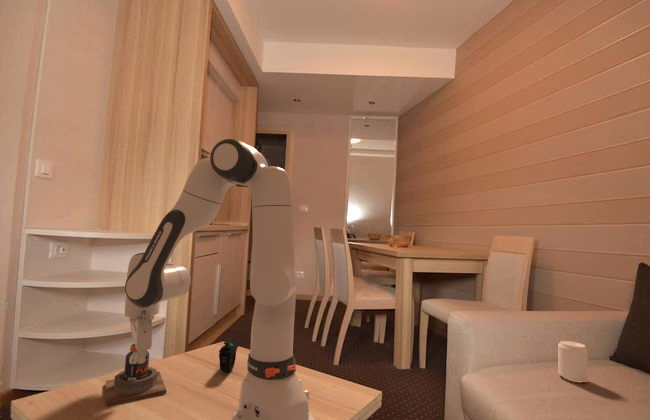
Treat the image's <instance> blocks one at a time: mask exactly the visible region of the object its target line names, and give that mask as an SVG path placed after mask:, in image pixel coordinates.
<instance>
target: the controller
mask: <svg viewBox="0 0 650 420" xmlns="http://www.w3.org/2000/svg"><path fill="white" fill-rule="evenodd" d="M223 344H224V345H223V346H222V347H221V348H220V349H219V350H218V353H219V354H218V358H219V369H220V371H221V372H223V373H229V372H231V371H233V369H234V366H235V362H236V358H237V350H238V348H239V345H240V343H239V340H233V339H230V340H227V341H226V340H225V341H224V342H223Z"/></svg>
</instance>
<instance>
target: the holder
mask: <svg viewBox="0 0 650 420" xmlns="http://www.w3.org/2000/svg"><path fill="white" fill-rule="evenodd" d="M124 371H125V370H122V371H119V373H117V374H116V375H114V379H109V380H108V379H107V380H106V381H105V405H106V406H105V407H109V406H114V405H115V406H116V405H118V404H122V403H128V402H134V401H137V400H142V399H146V398H147V399H148V398H152V397H157V396H161V395H166V394H167V388H166V385H165V383H164V381H163V378H162V375H161V372H160V371H157V369H156V368H153V367H151V366H148V376H147V377H146V378H144V379H140V380H134V381H125V380H124Z"/></svg>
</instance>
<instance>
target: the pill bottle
mask: <svg viewBox="0 0 650 420" xmlns="http://www.w3.org/2000/svg"><path fill="white" fill-rule="evenodd" d="M137 358H138V351H137V350H136V347H135V343H133V344H131V345H130V349H129V352H128V353H126V356H125V361H124V370H123V371H124V380H125V381H134V380H140V379H144V378H146V377H147V376H148V367H149V365H150V364H149V362H150V352H149V351H148V350H147V352H146V356H145V362H144V363H141V364H138V362H137Z"/></svg>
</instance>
